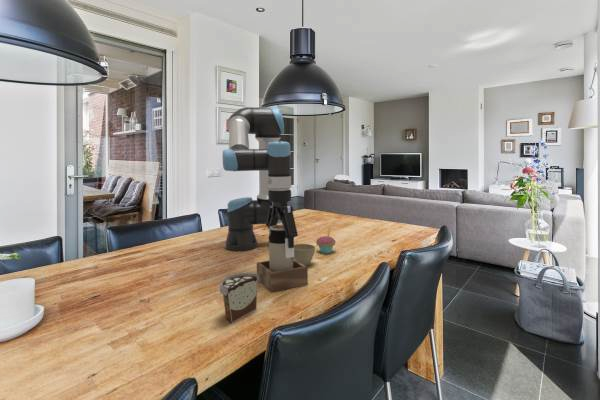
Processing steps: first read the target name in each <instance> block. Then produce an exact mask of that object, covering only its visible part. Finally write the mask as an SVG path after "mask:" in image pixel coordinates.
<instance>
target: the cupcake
mask: <svg viewBox="0 0 600 400" xmlns="http://www.w3.org/2000/svg"><path fill="white" fill-rule="evenodd" d="M330 231H331V226H329V227H328V231H327V236H325V235H323V236H320V237H318V238H317V239H316V240H315V241H316V242H315V243H316V245H317V246H318V248H319V251H320V253H321V254H331V253H332V251H333V247H334V246H335V245H336V240H335V238H333V237H331V236H330Z"/></svg>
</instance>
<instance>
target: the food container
mask: <svg viewBox="0 0 600 400" xmlns="http://www.w3.org/2000/svg"><path fill="white" fill-rule="evenodd" d="M258 282H260V281H259V276H258V274H257V273H254V272H241V273H235V274H231V275H228V276H226V277H224V278H222V280H221V282H220V287H219V292H220V294H221V295H222V297H223V302H224V303H223V304H224V311H225V318H226V321H227V322H228V323H229V324H234V323H235V322H238V321H239V320H241V319H242V318H245V317H246V316H248V315H250V314H252V313H253V312H255V311H256V310H257V307H258V306H257V305H258Z"/></svg>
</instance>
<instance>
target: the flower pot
mask: <svg viewBox="0 0 600 400" xmlns="http://www.w3.org/2000/svg"><path fill="white" fill-rule="evenodd" d="M315 251H316V246H315V245H314V244H310V243H296V244H295V243H294V257H293V259H295V260H296V261H298V262H300V263H301V264H303V265H305V266H307V267H308V266H309V265H310V264H311V262H312V260H313V257H314V255H315Z"/></svg>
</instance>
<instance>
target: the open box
mask: <svg viewBox="0 0 600 400" xmlns="http://www.w3.org/2000/svg"><path fill="white" fill-rule="evenodd" d="M308 270H309V269H308V265H307V266H305V265H303V264H301V263H300V262H298V261H296V260H295V259H293V269H288V270H283V271H277V272H272V271H270V269H269V260H264V261H258V262H256V274H258V276H259V281H258V282H260V283H261V284H262V285H263V286H264V287H265V288H266V289H267V290H268V291H270V292H271V293H274V292H279V291H284V290H287V289H292V288H298V287H302V286H308V283H309V281H308V280H309V279H308V276H309V274H308Z"/></svg>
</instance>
